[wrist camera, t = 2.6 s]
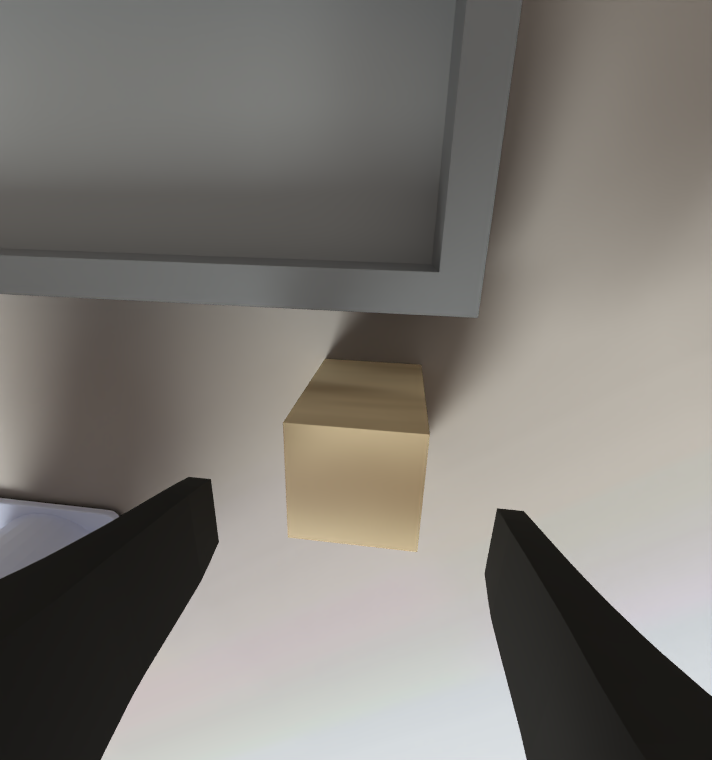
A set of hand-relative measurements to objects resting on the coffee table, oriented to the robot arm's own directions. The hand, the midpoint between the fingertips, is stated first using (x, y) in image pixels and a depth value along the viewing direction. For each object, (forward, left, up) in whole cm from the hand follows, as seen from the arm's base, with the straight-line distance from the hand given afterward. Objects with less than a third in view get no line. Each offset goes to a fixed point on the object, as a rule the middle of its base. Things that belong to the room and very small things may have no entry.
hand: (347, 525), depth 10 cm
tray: (+10, +7, -7) cm, 14 cm away
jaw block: (0, 0, -8) cm, 8 cm away
